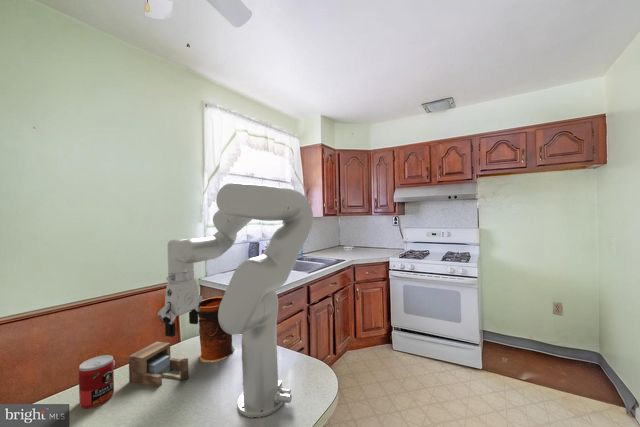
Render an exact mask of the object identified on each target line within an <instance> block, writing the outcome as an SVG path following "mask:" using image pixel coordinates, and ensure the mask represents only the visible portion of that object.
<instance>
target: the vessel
mask: <svg viewBox="0 0 640 427" xmlns="http://www.w3.org/2000/svg"><path fill="white" fill-rule="evenodd" d="M222 298H223V296H215V297H210V298H206V299H202V301H201V305H200V307H199V311H198V328H199V329H198V333H199V344H200V353H199V354H198V360H200V362H204V363H216V362H219V361H222V360H225V359H226V358H228V357H230V355H233V353H234V352H235V350H236V348H234V346H233V335H231V334H228V333H226V332H224V331H223V329H222V328H221V327H220V324H219V321H218V311H219V306H220V303H221V301H222Z"/></svg>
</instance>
